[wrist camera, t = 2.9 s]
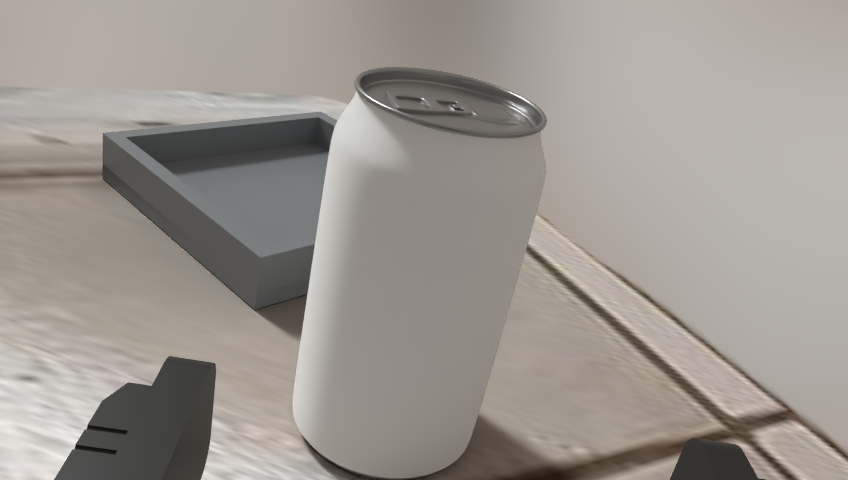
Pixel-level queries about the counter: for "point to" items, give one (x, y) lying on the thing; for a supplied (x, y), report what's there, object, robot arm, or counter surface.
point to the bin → (232, 195)
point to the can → (414, 267)
